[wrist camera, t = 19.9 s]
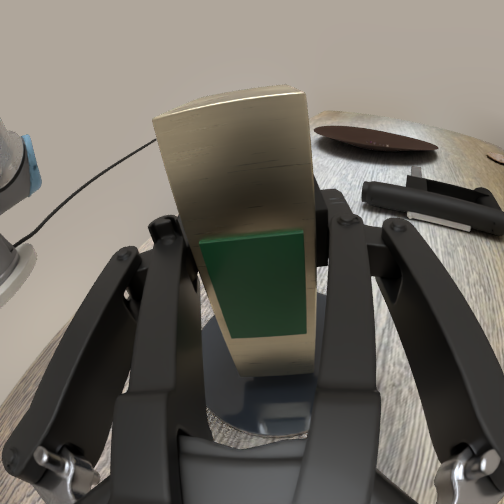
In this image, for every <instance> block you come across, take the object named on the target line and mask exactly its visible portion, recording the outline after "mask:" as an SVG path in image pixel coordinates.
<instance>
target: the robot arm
mask: <svg viewBox="0 0 504 504" xmlns="http://www.w3.org/2000/svg"><path fill="white" fill-rule="evenodd" d="M154 141H156V139H154V140H152V141H151V142H149V143H148V144H146V145H144V146H142V147H141V148H139V149H137V150H136V151H134V152H133V153H131V154H129V155H128V156H126V157H124V158H123V159H121V160H120V161H118V162H116V163H115V164H113V165H112V166H110V167H108V168H107V169H105V170H104V171H102V172H101V173H100V174H98V175H97V176H95V177H94V178H93V179H91V180H90V181H88V182H87V183H86V184H85V185H83V186H82V187H81V188H80V189H78V190H77V191H76V192H74V193H73V194H72V195H71V196H69V197H68V198H67V199H66V200H65V201H64V202H63V203H61V204H60V205H59V206H58V207H57V208H56V209H55V210H54V211H53V212H52V213H51V214H50V215H48V216H47V218H46V219H45V220H44V221H43V222H42V223H41V224H40V225H39V226H38V227H37V228H36V229H35V230H34V231H33V232H32V233H30V234H29V235H27V236H26V237H24V238H22V239H21V240H20V241H19V242H17V243H15V244H14V245H12V244H10V243H9V242H8V241H7V240H6V239H5V238H4V237H3V236H2V235H1V234H0V286H1V285H2V284H3V283H4V282H5V281H6V280H7V278H8V277H9V276H10V275H11V274H12V272H13V271H14V269H15V268H16V266H17V264H18V262H19V259H20V255H19V253H18V252H17V250H16V249H15V248H16V247H18V246H19V245H20V244H22V243H23V242H25V241H26V240H28V239H29V238H31V237H32V236H33V235H34V234H36V233H37V232H38V231H39V230H40V229H41V228H42V226H43V225H44V224H45V223H46V222H47V221H48V220H49V219H50V218H51V217H52V216H53V215H54V214H55V213H56V212H57V211H58V210H59V209H60V208H61V207H62V206H64V205H65V204H66V203H67V202H68V201H69V200H70V199H72V198H73V197H74V196H75V195H76V194H77V193H79V192H80V191H81V190H82V189H83V188H85V187H86V186H88V185H89V184H90V183H91V182H93V181H94V180H96V179H97V178H98V177H100V176H101V175H103V174H104V173H106V172H107V171H108V170H110V169H111V168H113V167H114V166H116V165H117V164H119V163H121V162H122V161H124V160H125V159H127V158H129V157H130V156H132V155H133V154H135V153H137V152H138V151H140V150H142V149H143V148H145V147H146V146H148V145H149V144H151V143H153V142H154ZM313 178H314V195H315V217H316V256H317V267H321V266H328V282H327V296H326V309H325V320H324V330H323V340H322V348H321V357H320V365H319V372H318V379H317V386H316V390H315V396H314V402H313V408H312V414H311V419H310V425H309V430H308V435H307V438H305V439H290V440H281V441H277V442H273V443H269V444H265V445H261V446H257V447H252V448H248V449H235V448H232V447H228V446H225V445H222V444H219V443H215V442H214V440H213V436H212V432H211V430H210V427H209V425H208V421H207V412H206V400H205V386H204V371H203V354H202V333H201V302H200V281H199V278H198V276H197V274H198V268H197V265H196V263H195V260H194V257H193V254H192V251H191V248H190V245H189V242H188V239H187V236H186V233H185V230H184V227H183V224H182V221H181V218H180V215H178V217H177V216H175V215H166V216H162V217H159V218H157V219H155V220H154V221H153V222H151V223H150V224H149V226H148V229H149V232H150V234H151V237H152V239H153V242H154V246H153V249H151V250H149V251H146V252H143V253H140V254H139V251H138V249H137V248H136V247H135V246H128V247H123V248H121V249H120V250H119V251H117V252H116V253H115V254H114V255H113V256H112V258H111V259H110V261H109V262H108V263H107V265H106V266H105V268H104V269H103V271H102V273H101V274H100V275H99V277H98V278H97V280H96V282H95V283H94V285H93V286H92V288H91V289H90V291H89V293H88V294H87V296H86V298H85V299H84V301H83V302H82V304H81V306H80V307H79V309H78V311H77V312H76V314H75V316H74V318H73V319H72V321H71V323H70V325H69V326H68V328H67V330H66V332H65V334H64V335H63V337H62V339H61V341H60V343H59V345H58V347H57V349H56V351H55V353H54V355H53V357H52V359H51V361H50V363H49V365H48V367H47V369H46V371H45V373H44V375H43V377H42V380H41V382H40V384H39V386H38V389H37V391H36V393H35V396H34V398H33V400H32V403H31V405H30V408H29V410H28V411H27V412H26V414H25V415H24V417H23V418H22V420H21V421H20V422H19V424H18V425H17V427H16V428H15V430H14V431H13V433H12V434H11V436H10V437H9V439H8V440H7V442H6V443H5V445H4V448H3V451H2V461H3V465H4V468H5V470H6V471H7V472H8V473H9V474H10V475H12V476H14V477H17V478H19V479H21V480H23V481H26V482H28V483H30V484H32V486H33V487H34V488H35V490H36V491H37V492H38V494H39V495H40V496H41V498H42V499H43V500H44V501H45V503H46V504H418V503H417V502H416V501H414V500H413V499H412V498H411V497H409V496H408V495H407V494H406V493H405V492H403V491H402V490H401V489H400V488H399V487H397V486H396V485H395V484H394V483H393V482H392V481H390V480H389V479H388V478H387V477H386V476H385V475H383V474H382V473H381V472H380V471H379V470H378V469H377V468H376V464H377V455H378V445H379V433H380V418H381V397H380V392H379V391H378V390H377V389H376V343H375V321H374V306H373V294H372V283H371V276H375V279H376V282H377V284H378V286H379V288H380V291H381V293H382V295H383V297H384V300H385V302H386V304H387V307H388V309H389V312H390V314H391V317H392V319H393V321H394V324H395V327H396V329H397V332H398V334H399V337H400V340H401V342H402V345H403V348H404V350H405V353H406V356H407V359H408V362H409V365H410V368H411V371H412V374H413V377H414V380H415V383H416V386H417V389H418V393H419V396H420V399H421V403H422V406H423V410H424V414H425V417H426V421H427V425H428V429H429V433H430V437H431V440H432V443H433V447H434V449H435V452H436V454H437V457H438V459H439V461H440V463H441V464H442V465H441V466H440V468H439V469H438V471H437V474H436V477H435V479H434V485H435V487H436V490H437V502H436V504H497V503H498V502H499V501H500V500H501V499H502V498H503V496H504V374H503V371H502V369H501V367H500V364H499V362H498V360H497V358H496V356H495V354H494V351H493V349H492V347H491V345H490V343H489V341H488V339H487V337H486V335H485V333H484V331H483V330H482V328H481V326H480V324H479V322H478V320H477V319H476V317H475V315H474V313H473V312H472V310H471V308H470V306H469V305H468V303H467V301H466V300H465V298H464V296H463V295H462V293H461V292H460V290H459V288H458V287H457V285H456V284H455V282H454V281H453V279H452V278H451V276H450V275H449V273H448V272H447V270H446V269H445V267H444V266H443V264H442V263H441V262H440V260H439V259H438V257H437V256H436V255H435V253H434V252H433V251H432V249H431V248H430V246H429V245H428V244H427V242H426V241H425V240H424V239H423V237H422V236H421V235H420V233H419V232H418V231H417V230H416V228H415V227H414V226H413V225H412V224H411V223H410V222H409V221H407V220H404V219H402V218H389V219H386V220H385V221H384V222H383V225H382V228H381V227H373V226H368V225H364V224H363V220H362V218H361V217H359V216H358V215H355V214H353V213H352V211H351V209H350V207H349V205H348V203H347V202H346V200H345V199H344V196H343V194H342V193H341V192H340V191H338V190H336V189H325V190H320V188H319V186H318V184H317V181H316V179H315V177H314V174H313ZM41 184H42V180H41V176H40V173H39V169H38V166H37V162H36V158H35V154H34V150H33V146H32V142H31V138H30V136H29V135H28V134H27V135H24V136H21V137H20V136H19V135H18V134H17V133H15V132H13V131H7V130H6V128H5V126H4V124H3V122H2V120H1V118H0V215H1V214H3V213H4V212H5V211H7V210H8V209H10V208H11V207H13V206H14V205H15V204H17V203H19V202H20V201H22V200H23V199H25V198H26V197H30V196H31V194H32V193H34V192H35V191H36V190H38V189H39V188H40V187H41ZM328 258H329V265H328ZM125 290H127V292H128V294H129V297H128V299H126V298H125V297H124V292H125ZM130 369H131V370H130ZM129 371H130V379H129V387H128V391H127V392H126V393H123V394H122V391H123V388H124V385H125V383H126V380H127V377H128V374H129ZM112 422H113V425H112ZM111 425H112V440H111V466H110V475H109V476H108V477H107V478H106V479H104V480H103V481H102V482H101V483H99V482H100V475H99V473H98V472H97V471H96V470H94V467H95V465H96V464H97V462H98V460H99V458H100V456H101V454H102V452H103V450H104V447H105V444H106V441H107V438H108V435H109V432H110V428H111ZM98 483H99V484H98ZM97 484H98V485H97ZM92 485H97V486H96V487H94V488H93V489H92V490H91V486H92Z"/></svg>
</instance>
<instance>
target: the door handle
mask: <svg viewBox="0 0 504 504" xmlns="http://www.w3.org/2000/svg"><path fill="white" fill-rule="evenodd" d="M362 202H367V203H368V204H369V205H372V206H377V207H382V208H387V209H392V210H397V211H402V212H407V217H408V218H409V219H412V218H415V219H420V220H424V221H428V222H433V223H437V224H441V225H445V226H449V227H453V228H457V229H461V230H465V231H469V232H470V229H471V228H473V229H477V230H480V231H484V232H488V233H491V234H494V235H498V236H502V235H504V212H503V211H502V210H501V208H500V207H499V205H498V203H497V201H496V200H495V198H494V196H493V195H492V193H491V192H490V191H489V190H488V189H486V188H482V187H479V188H476V189H474V190H471V189H467V188H463V187H459V186H455V185H451V184H447V183H443V182H438V181H434V180H429V179H425V178H422V174H421V167H416V166H412V168H411V176H410V175H407V181H406V187H403V186H398V185H393V184H387V183H381V182H376V181H372V182H366V181H364V183H363V187H362Z"/></svg>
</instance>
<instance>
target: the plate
mask: <svg viewBox="0 0 504 504" xmlns="http://www.w3.org/2000/svg"><path fill="white" fill-rule="evenodd" d="M314 132H316V133H317V134H320V135H322V136H325V137H329V138H332V139H335V140H338V141H341V142H344V143H347V144H350V145H353V146H356V147H359V148H363V149H368V150H374V151H413V150H436V149H438V147H437V146H436V145H433V144H431V143H428V142H425V141H421V140H418V139H414V138H410V137H406V136H401V135H397V134H392V133H388V132H383V131H377V130H372V129H366V128H358V127H349V126H322V127H318V128H315V129H314Z"/></svg>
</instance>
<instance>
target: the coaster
mask: <svg viewBox="0 0 504 504" xmlns="http://www.w3.org/2000/svg"><path fill="white" fill-rule="evenodd" d="M325 309H326V295H324V294H321V293H318V292H317V300H316V338H315V360H314V372H313V373H305V374H294V375H279V376H258V377H240V375H239V373H238V370H237V368H236V366H235V363H234V361H233V359H232V356H231V354H230V351H229V349H228V347H227V344H226V342H225V339H224V337H223V334H222V332H221V329H220V327H219V324H218V322H217V319H216V317H215V315H214V316H213V317H212V318H211V319H210V320H209V321H208V323H207V324H206V325H205V326H204V328H203V329H202V331H201V333H202V354H203V371H204V386H205V400H206V406H207V407H208V409H209V410H210V411H211V412H212V413H213V414H214V415H215V416H216V417H218V418H219V419H220V420H221V421H223V422H224V423H226V424H227V425H229V426H231V427H233V428H235V429H237V430H239V431H242V432H245V433H248V434H251V435H255V436H261V437H275V438H280V437H290V436H296V435H300V434H304V433H307V432H308V430H309V425H310V419H311V414H312V408H313V402H314V396H315V390H316V386H317V379H318V372H319V365H320V357H321V348H322V340H323V330H324V320H325Z"/></svg>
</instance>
